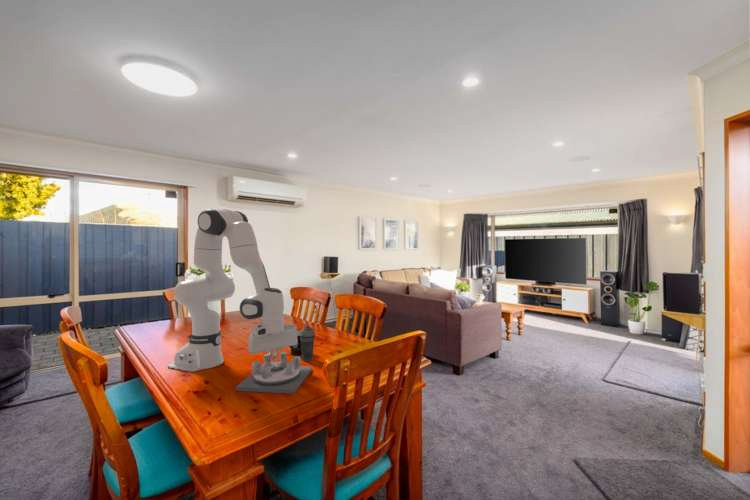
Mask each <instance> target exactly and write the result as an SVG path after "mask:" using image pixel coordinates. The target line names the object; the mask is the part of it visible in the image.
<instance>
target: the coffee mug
mask: <svg viewBox="0 0 750 500" xmlns="http://www.w3.org/2000/svg"><path fill="white" fill-rule="evenodd" d="M300 332H301V330H297V332H296V333H297V339H298V342H297V344H296V345H293V346H288V347H289V348H290V353H291V356H302V350H301V341H300Z"/></svg>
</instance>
